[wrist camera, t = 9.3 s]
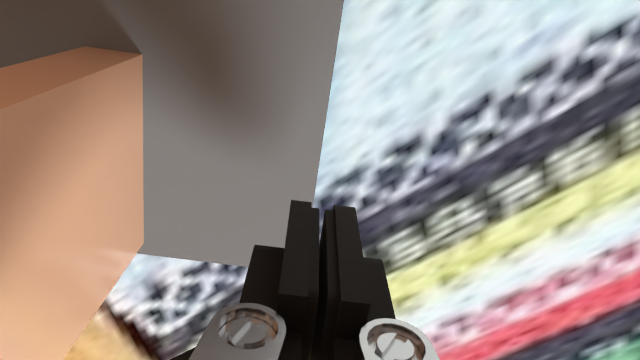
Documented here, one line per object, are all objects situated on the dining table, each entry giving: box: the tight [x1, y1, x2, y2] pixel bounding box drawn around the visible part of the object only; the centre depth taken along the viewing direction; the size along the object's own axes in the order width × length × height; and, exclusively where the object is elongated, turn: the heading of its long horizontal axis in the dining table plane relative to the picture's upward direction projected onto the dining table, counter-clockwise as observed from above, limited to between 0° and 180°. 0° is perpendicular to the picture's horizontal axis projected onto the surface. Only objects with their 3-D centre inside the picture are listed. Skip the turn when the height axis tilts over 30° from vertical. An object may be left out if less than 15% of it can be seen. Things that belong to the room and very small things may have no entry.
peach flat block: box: [0, 46, 144, 360], centre depth 12 cm, size 2×7×8 cm, turn 172°
